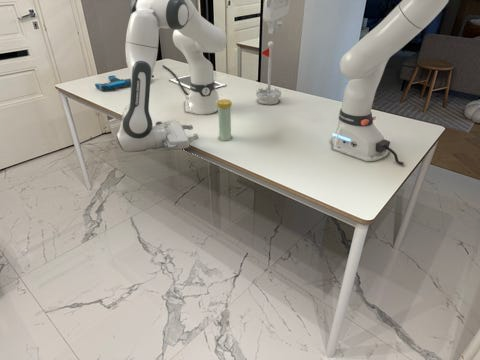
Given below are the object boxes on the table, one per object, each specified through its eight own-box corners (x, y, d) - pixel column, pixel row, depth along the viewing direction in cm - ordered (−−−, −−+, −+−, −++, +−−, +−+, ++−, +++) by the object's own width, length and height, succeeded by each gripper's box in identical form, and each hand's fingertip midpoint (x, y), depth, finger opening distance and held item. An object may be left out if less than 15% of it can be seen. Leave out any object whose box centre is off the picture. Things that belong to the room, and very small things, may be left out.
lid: (234, 105, 137) (234, 101, 136) (225, 109, 133) (225, 105, 132) (222, 102, 140) (222, 98, 139) (214, 106, 136) (214, 102, 135)
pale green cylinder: (233, 137, 145) (232, 102, 136) (226, 141, 141) (225, 106, 133) (224, 134, 147) (222, 99, 138) (217, 138, 144) (215, 103, 135)
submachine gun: (139, 68, 224) (158, 74, 208) (140, 74, 226) (159, 81, 209) (87, 78, 206) (103, 86, 189) (89, 85, 208) (104, 93, 191)
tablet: (169, 80, 212) (169, 79, 212) (195, 74, 223) (195, 73, 223) (198, 92, 192) (198, 92, 192) (226, 85, 203) (226, 84, 203)
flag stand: (273, 95, 188) (277, 37, 172) (284, 103, 178) (289, 42, 162) (252, 98, 184) (253, 39, 168) (262, 106, 174) (264, 45, 158)
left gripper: (164, 140, 124) (201, 134, 128) (156, 119, 140) (189, 115, 144) (166, 155, 128) (202, 149, 131) (158, 133, 144) (190, 128, 147)
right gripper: (276, -7, 116) (273, 36, 123) (294, -11, 131) (290, 27, 139) (259, -8, 118) (257, 35, 125) (278, -12, 133) (276, 26, 141)
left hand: (195, 131), depth 138 cm, fingers open, 8 cm apart
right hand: (275, 31), depth 132 cm, fingers open, 8 cm apart
